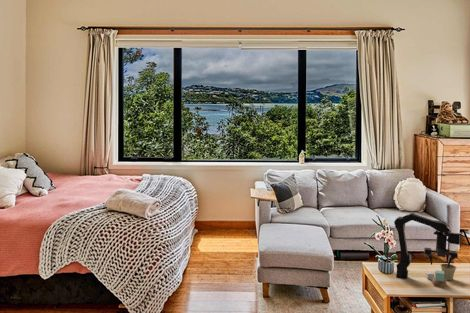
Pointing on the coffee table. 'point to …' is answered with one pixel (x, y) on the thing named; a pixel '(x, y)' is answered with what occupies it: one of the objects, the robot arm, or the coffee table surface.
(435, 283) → the walnut base block
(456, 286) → the coffee table surface
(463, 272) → the coffee table surface
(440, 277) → the teal block
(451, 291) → the coffee table surface
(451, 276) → the flower pot
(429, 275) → the grey block
